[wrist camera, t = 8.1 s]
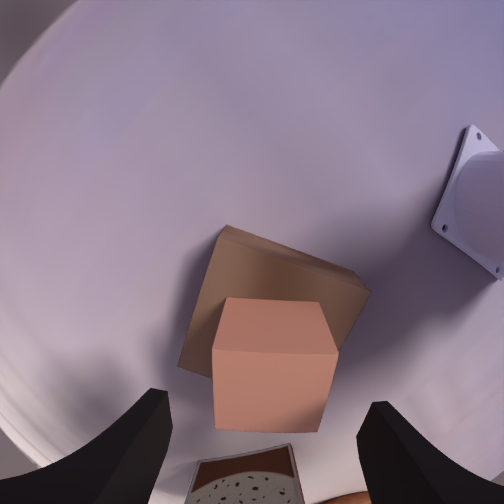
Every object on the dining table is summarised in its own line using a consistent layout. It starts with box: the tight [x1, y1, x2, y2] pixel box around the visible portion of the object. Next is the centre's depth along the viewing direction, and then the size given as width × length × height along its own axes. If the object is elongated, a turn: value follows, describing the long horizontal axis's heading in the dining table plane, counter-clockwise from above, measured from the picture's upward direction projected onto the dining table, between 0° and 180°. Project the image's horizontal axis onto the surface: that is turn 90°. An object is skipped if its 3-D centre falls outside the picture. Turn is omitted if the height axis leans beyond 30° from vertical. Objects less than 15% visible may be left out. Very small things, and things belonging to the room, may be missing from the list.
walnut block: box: [178, 225, 370, 379], centre depth 16 cm, size 8×8×4 cm
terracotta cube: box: [212, 297, 339, 433], centre depth 12 cm, size 4×4×4 cm
